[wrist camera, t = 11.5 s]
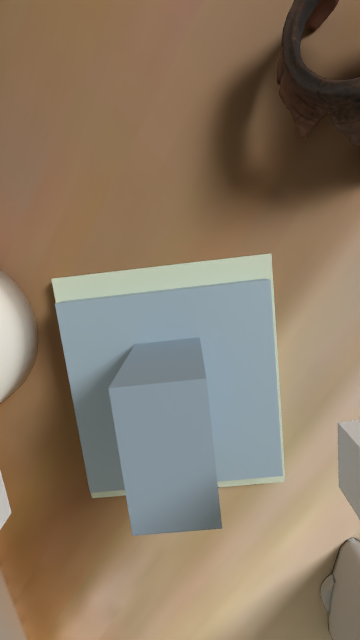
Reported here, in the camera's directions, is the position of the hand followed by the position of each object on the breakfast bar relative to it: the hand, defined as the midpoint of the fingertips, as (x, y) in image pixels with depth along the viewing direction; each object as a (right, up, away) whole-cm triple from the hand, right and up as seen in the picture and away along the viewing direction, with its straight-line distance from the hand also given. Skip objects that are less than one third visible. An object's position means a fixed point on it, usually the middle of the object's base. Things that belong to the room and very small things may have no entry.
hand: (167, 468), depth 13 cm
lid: (0, +1, +10) cm, 10 cm away
